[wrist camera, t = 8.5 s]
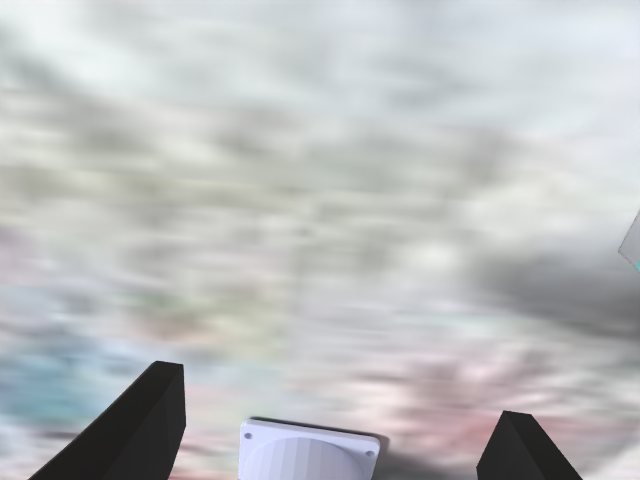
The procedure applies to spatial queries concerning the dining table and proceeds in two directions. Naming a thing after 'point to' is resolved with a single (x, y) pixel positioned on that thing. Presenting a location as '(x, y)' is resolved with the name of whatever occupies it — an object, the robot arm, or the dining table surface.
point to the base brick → (632, 244)
